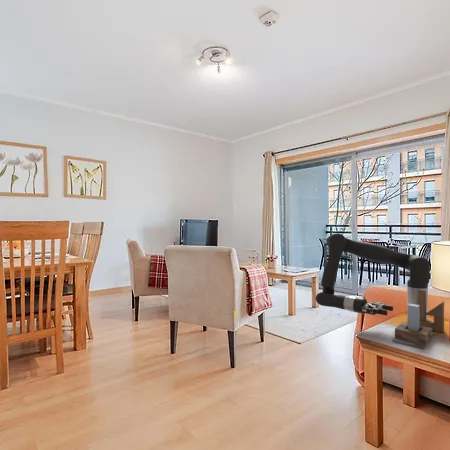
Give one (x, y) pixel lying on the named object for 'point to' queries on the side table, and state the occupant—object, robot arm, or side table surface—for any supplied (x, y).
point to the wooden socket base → (413, 336)
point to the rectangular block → (414, 317)
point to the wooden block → (431, 313)
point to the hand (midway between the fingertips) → (390, 310)
